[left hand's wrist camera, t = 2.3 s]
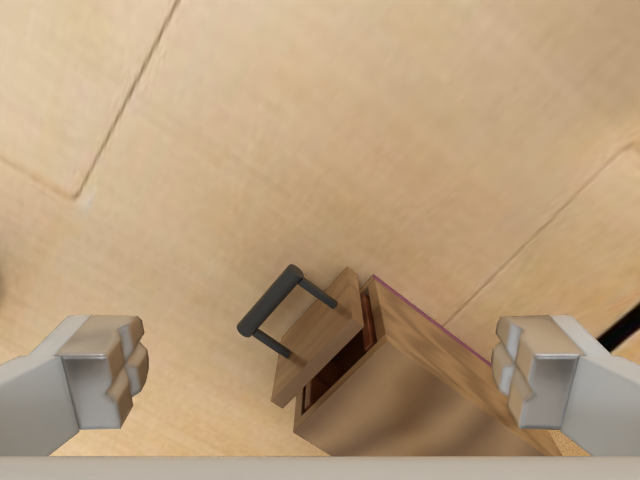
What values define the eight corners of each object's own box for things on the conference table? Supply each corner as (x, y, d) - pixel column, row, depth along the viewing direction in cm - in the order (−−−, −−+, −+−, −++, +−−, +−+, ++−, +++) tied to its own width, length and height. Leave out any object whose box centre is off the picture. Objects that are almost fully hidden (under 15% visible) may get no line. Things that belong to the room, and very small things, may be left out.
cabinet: (300, 350, 46) (292, 432, 36) (373, 274, 43) (387, 340, 33) (446, 450, 51) (475, 546, 41) (522, 387, 48) (575, 476, 37)
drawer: (237, 308, 43) (216, 367, 35) (302, 232, 40) (296, 277, 32) (425, 435, 49) (445, 512, 41) (494, 377, 46) (531, 447, 38)
